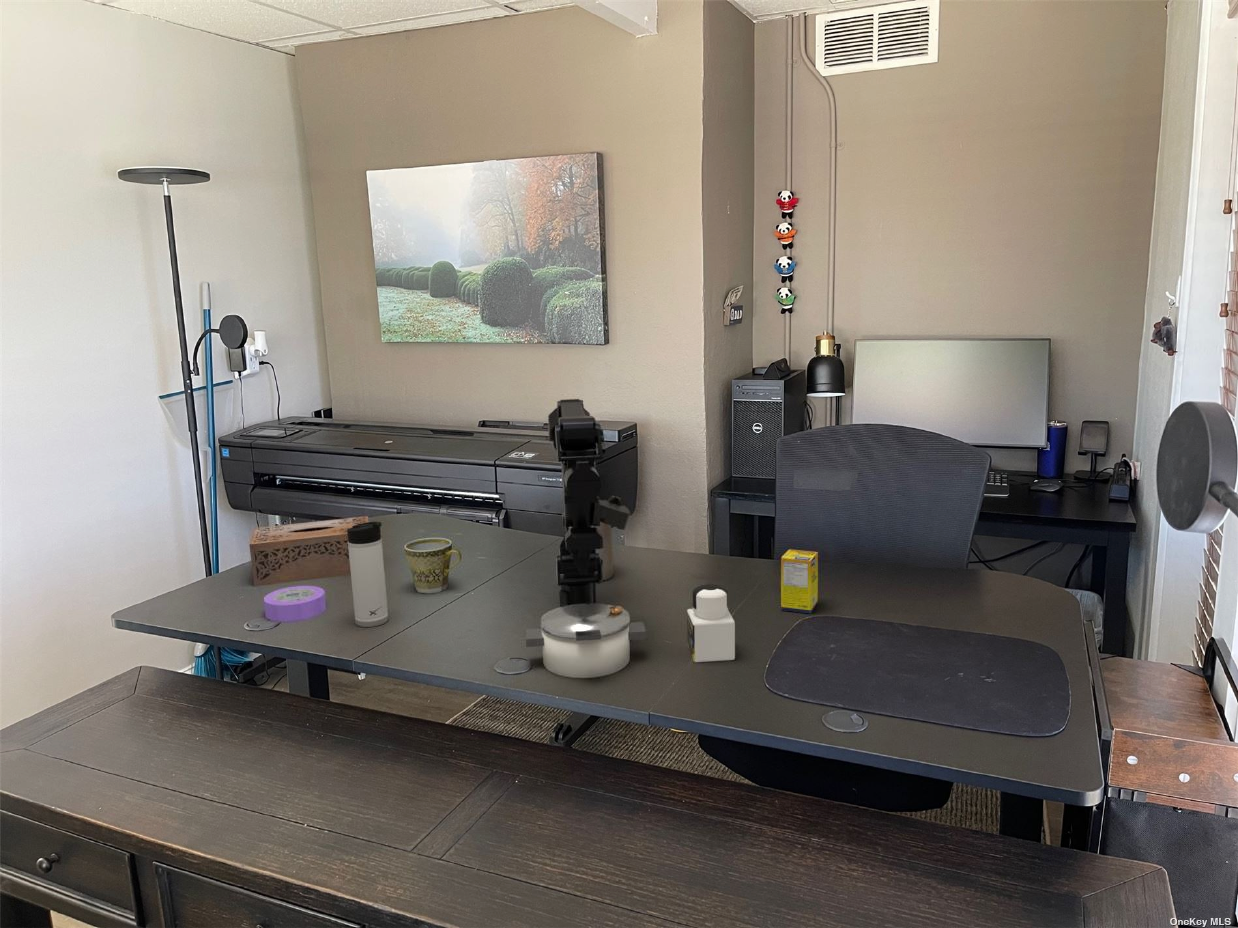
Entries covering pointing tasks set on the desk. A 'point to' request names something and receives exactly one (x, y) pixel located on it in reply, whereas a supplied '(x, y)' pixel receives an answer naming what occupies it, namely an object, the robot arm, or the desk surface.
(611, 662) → the cooker body
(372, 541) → the travel mug
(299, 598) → the masking tape
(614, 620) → the cooker lid
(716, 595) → the medicine bottle
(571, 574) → the robot arm
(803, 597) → the supplement box
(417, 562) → the ceramic cup
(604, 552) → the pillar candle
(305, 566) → the tissue box cover
